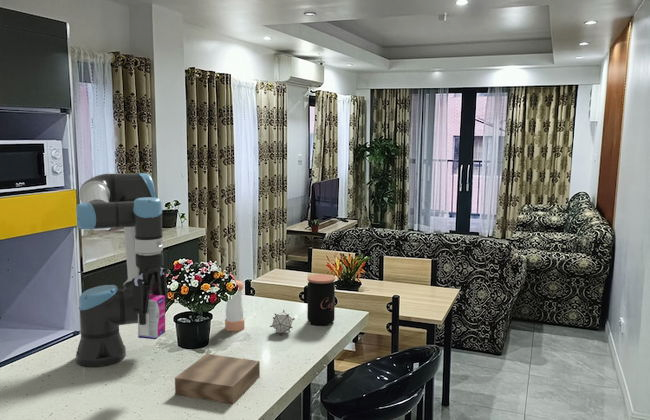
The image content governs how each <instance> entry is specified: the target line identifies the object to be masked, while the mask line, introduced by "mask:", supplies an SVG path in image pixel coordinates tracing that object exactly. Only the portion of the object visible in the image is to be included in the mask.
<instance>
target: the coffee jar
mask: <svg viewBox="0 0 650 420" xmlns="http://www.w3.org/2000/svg"><path fill="white" fill-rule="evenodd" d="M307 280H308V282H307V311H306V312H307V313H306V314H307V316H306V317H307V318H306V319H307V321H308V323H309V324H310V325H312V326H316V327H325V326H330V325H332V324H333V322H335V309H336V307H335V304H336V303H335V297H336V296H335V295H336V291H335V290H336V287H335V285H336V284H335V280H336V278H335V276H333V275H330V274H325V273H324V274H323V273H322V274H321V273H320V274H319V273H317V274H312V275H309V276H308V277H307Z"/></svg>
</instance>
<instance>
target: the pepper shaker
mask: <svg viewBox="0 0 650 420" xmlns="http://www.w3.org/2000/svg"><path fill="white" fill-rule="evenodd" d="M234 279H235V282H236V283H237V285H238V286H239V290H238V292H237V294H236V295H235V296H232V297H233V300H232V301H228V302H227V301H226V305H225V306H226V307H225V320H224V329H225V330H226V331H228V332H239V331H243V330H244V329H245V318H244V306H243V296H242V294H243V293H242V292H243V289H244V287H245V286H244V283H243V282H242V281H240V280H237V279H236V278H234Z"/></svg>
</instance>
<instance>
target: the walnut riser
mask: <svg viewBox="0 0 650 420" xmlns="http://www.w3.org/2000/svg"><path fill="white" fill-rule="evenodd" d="M260 363H261V362H260V360H255V359H247V358H239V357H234V356H233V357H232V356H227V355H225V356H224V355H218V354H211V353H205V354H204V355H203V356H201V358H199V359H198V360H196V361H195V362H194V363H192V364H191V365H190V366H188V367H187V368H186V369H184V370H183V371H181V372H180V373H179V374H178V375H177V376H175V378H174V389H175V392H174V394H175V395H176V396H181V397H182V396H183V397H189V398H192V399H193V398H194V399H201V400H208V401H213V402H220V403H223V404H224V403H225V404H232V405H234V404H235V403H236V401H238V400H239V399H240V397H242V395H244V393H245V392H246V391H247V390H248V389H249V388H250V387H251V386H253V384H255V382H256V381H257V380H259V378H260V373H261V372H260V371H261V370H260V368H261V365H260Z"/></svg>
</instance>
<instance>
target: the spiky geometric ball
mask: <svg viewBox="0 0 650 420" xmlns="http://www.w3.org/2000/svg"><path fill="white" fill-rule="evenodd" d="M272 319H273V321H272V324H271V325H270V326H269V328H273V329H275V332H278V333H279V335H280V336H282V335H283V334H284V333H286V332H291V330H290V329H293V326H292V325H293V321H294V320H295V318H294V317H293V318H292V317H291V316H290V314H289V313H286V312H285V309H283V310H282V312H280V313H274V317H272Z"/></svg>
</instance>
